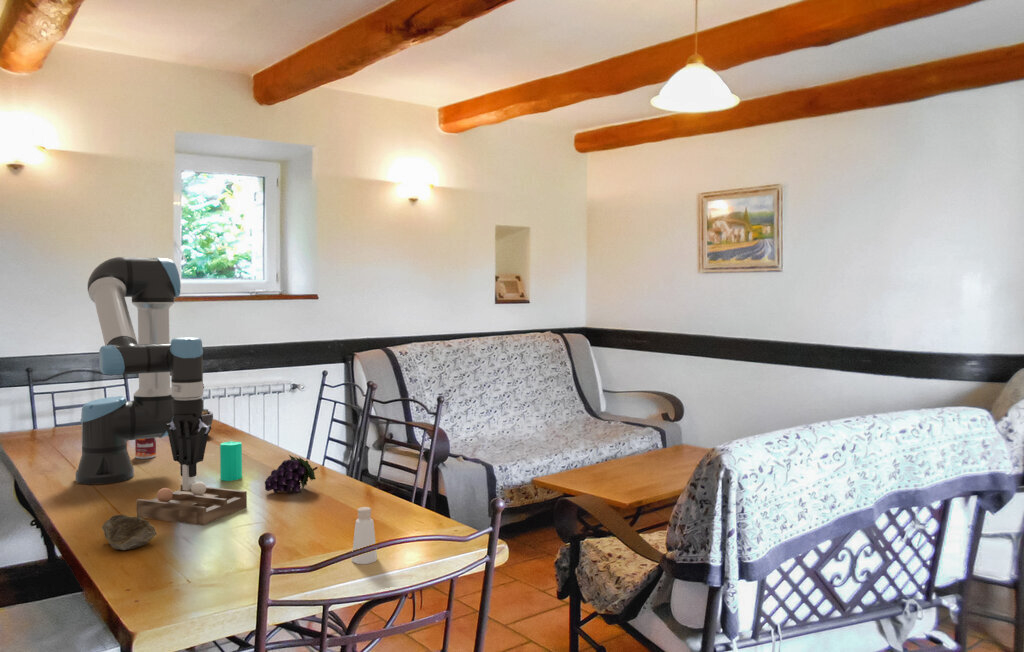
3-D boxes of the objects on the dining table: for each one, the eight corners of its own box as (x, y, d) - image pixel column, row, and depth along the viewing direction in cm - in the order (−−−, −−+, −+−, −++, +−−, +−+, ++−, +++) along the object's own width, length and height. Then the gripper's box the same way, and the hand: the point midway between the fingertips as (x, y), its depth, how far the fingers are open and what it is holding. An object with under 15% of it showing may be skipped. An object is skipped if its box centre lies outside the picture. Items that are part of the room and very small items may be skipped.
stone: (90, 534, 171) (114, 502, 174) (120, 549, 175) (142, 517, 179) (113, 549, 162) (137, 515, 165) (143, 564, 167) (166, 530, 170)
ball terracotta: (153, 503, 191) (153, 489, 191) (164, 499, 194) (164, 485, 194) (165, 505, 190) (165, 490, 189) (176, 501, 193) (175, 487, 193)
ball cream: (189, 481, 197) (200, 486, 196) (199, 477, 200) (210, 483, 199) (186, 494, 197) (197, 499, 196) (196, 490, 201) (207, 495, 200)
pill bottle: (134, 459, 250) (134, 426, 249) (135, 455, 256) (135, 422, 255) (155, 458, 252) (155, 424, 252) (156, 454, 258) (156, 421, 257)
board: (136, 516, 190) (136, 499, 190) (183, 499, 205) (183, 484, 205) (203, 525, 184) (203, 508, 183) (246, 507, 199) (246, 491, 198)
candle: (234, 481, 224) (234, 440, 224) (216, 480, 225) (215, 439, 225) (246, 476, 230) (245, 436, 229) (227, 475, 231) (227, 435, 231)
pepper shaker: (346, 562, 161) (346, 510, 160) (360, 554, 166) (360, 503, 165) (368, 566, 159) (368, 513, 158) (382, 557, 164) (382, 506, 163)
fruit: (265, 502, 215) (315, 481, 223) (278, 504, 206) (328, 482, 215) (254, 467, 214) (304, 447, 223) (266, 468, 205) (317, 448, 214)
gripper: (156, 398, 196) (157, 490, 198) (197, 401, 192) (199, 494, 193) (177, 394, 204) (179, 483, 205) (218, 397, 199) (219, 487, 200)
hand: (188, 488), depth 199 cm, fingers closed
